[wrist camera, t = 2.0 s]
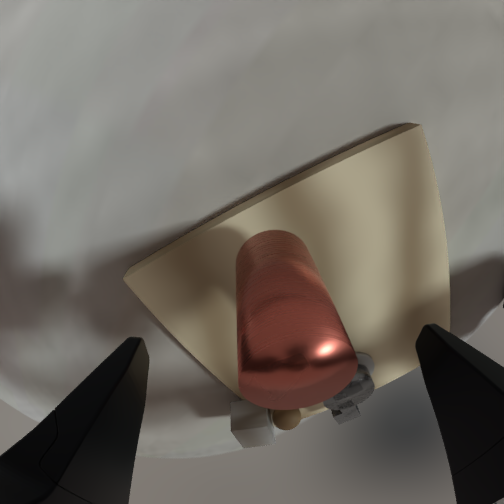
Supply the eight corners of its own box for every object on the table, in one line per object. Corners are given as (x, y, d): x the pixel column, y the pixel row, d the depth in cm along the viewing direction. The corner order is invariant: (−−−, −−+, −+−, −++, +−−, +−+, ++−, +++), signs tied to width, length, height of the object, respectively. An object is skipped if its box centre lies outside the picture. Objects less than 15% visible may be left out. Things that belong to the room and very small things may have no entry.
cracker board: (409, 122, 12) (455, 132, 9) (443, 339, 21) (462, 368, 18) (106, 282, 16) (82, 323, 12) (256, 422, 25) (258, 456, 21)
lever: (293, 200, 12) (356, 309, 6) (376, 392, 21) (403, 463, 14) (215, 240, 13) (199, 374, 6) (335, 410, 21) (354, 482, 15)
